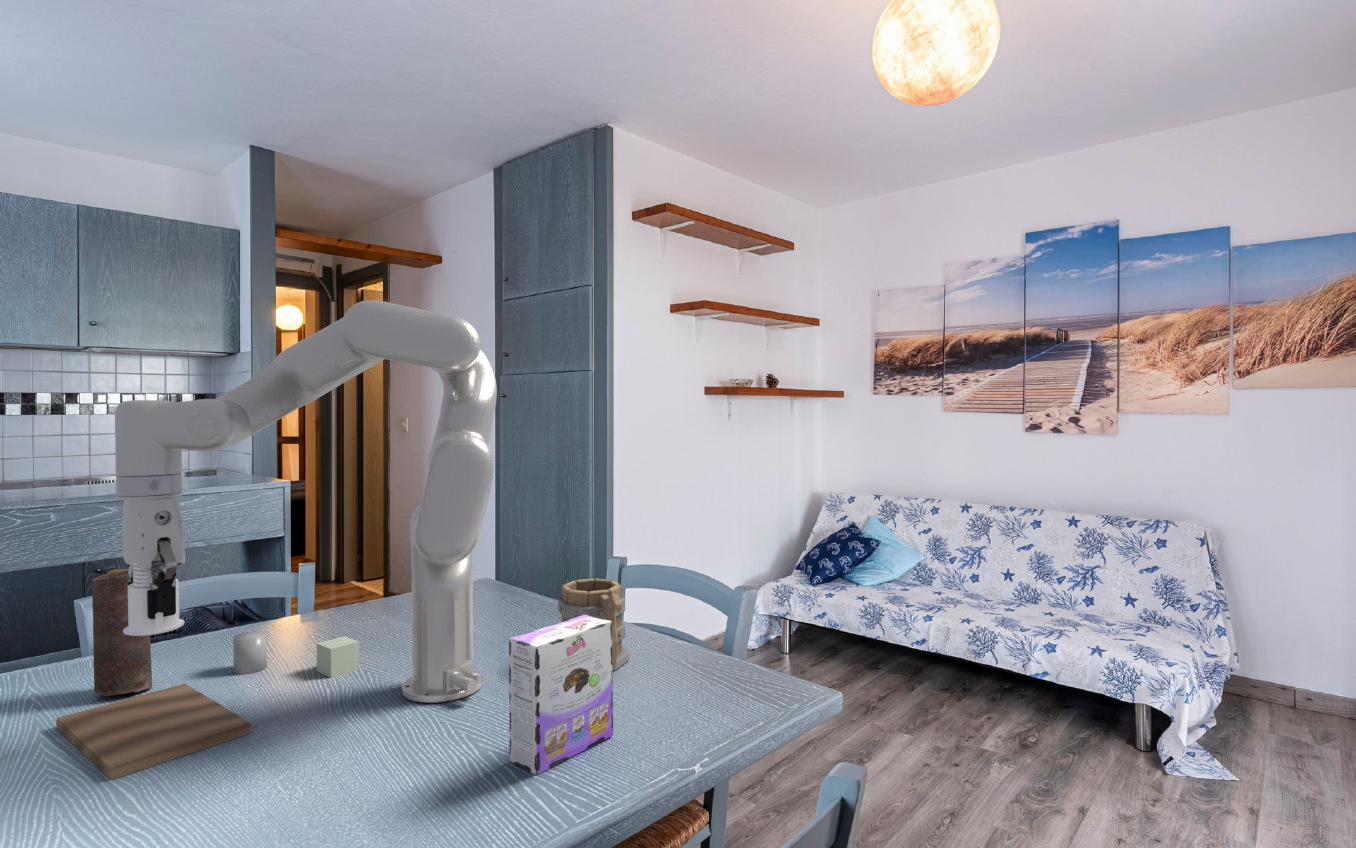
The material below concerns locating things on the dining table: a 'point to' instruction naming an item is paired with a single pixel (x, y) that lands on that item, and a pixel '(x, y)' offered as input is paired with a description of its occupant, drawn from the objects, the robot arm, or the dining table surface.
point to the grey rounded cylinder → (249, 652)
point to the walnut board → (150, 729)
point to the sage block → (337, 656)
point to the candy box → (560, 691)
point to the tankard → (597, 609)
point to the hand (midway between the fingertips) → (151, 611)
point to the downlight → (138, 608)
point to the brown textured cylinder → (117, 639)
